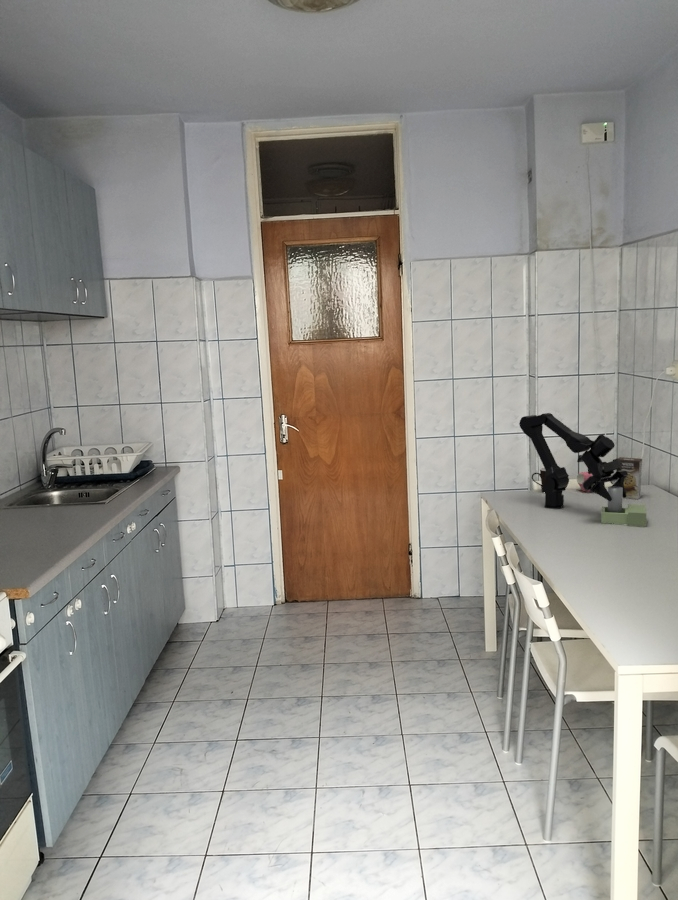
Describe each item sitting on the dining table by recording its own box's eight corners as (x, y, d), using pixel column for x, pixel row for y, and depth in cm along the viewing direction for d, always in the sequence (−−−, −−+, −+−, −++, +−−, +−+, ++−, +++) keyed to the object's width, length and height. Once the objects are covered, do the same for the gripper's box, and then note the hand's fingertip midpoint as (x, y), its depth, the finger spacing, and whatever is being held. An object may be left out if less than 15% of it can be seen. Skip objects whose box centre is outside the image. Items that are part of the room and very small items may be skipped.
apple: (573, 489, 320) (573, 467, 318) (590, 488, 322) (591, 465, 320) (585, 494, 311) (585, 471, 309) (603, 492, 313) (604, 469, 311)
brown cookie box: (614, 497, 304) (615, 459, 301) (618, 494, 309) (619, 456, 307) (638, 499, 299) (639, 460, 297) (641, 496, 305) (642, 458, 302)
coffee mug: (561, 490, 320) (562, 467, 318) (558, 494, 312) (559, 471, 311) (534, 488, 325) (534, 466, 323) (531, 493, 317) (531, 470, 316)
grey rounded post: (610, 523, 268) (611, 489, 266) (605, 519, 273) (605, 486, 270) (624, 522, 268) (625, 488, 266) (618, 518, 273) (618, 485, 271)
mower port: (601, 524, 266) (601, 511, 265) (602, 515, 277) (602, 503, 276) (646, 526, 261) (646, 513, 260) (644, 518, 272) (645, 505, 271)
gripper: (589, 454, 265) (613, 490, 257) (625, 448, 274) (649, 482, 266) (572, 472, 273) (595, 507, 265) (607, 466, 282) (630, 499, 274)
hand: (618, 498), depth 268 cm, fingers open, 7 cm apart
